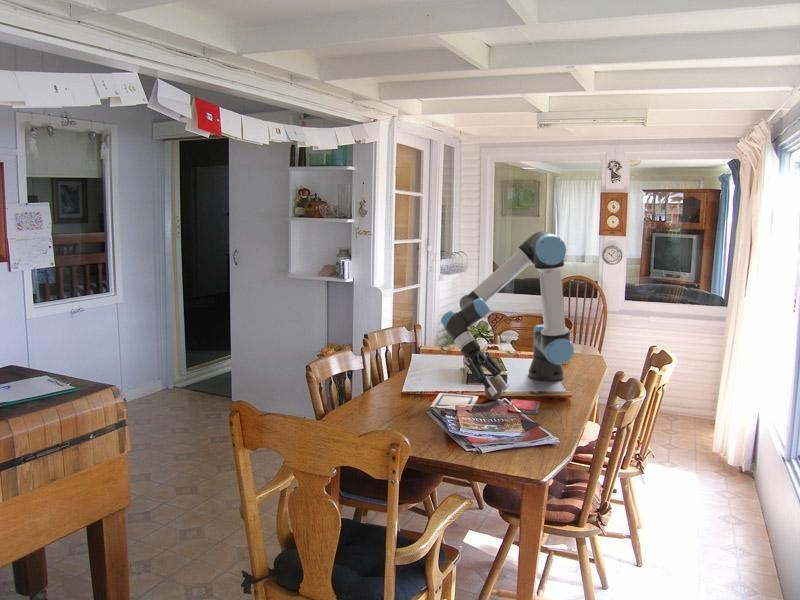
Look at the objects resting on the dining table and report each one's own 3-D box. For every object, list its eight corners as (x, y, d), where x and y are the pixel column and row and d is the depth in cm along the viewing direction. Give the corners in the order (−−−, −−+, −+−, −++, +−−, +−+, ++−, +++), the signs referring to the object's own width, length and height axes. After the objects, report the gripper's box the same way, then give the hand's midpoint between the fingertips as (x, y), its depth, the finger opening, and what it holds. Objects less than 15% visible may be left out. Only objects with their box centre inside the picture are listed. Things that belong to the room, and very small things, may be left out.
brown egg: (504, 400, 270) (504, 379, 268) (487, 401, 269) (487, 380, 267) (498, 394, 277) (499, 374, 275) (482, 396, 276) (482, 375, 274)
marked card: (478, 397, 276) (478, 395, 276) (471, 411, 261) (471, 409, 261) (439, 394, 280) (439, 392, 280) (430, 407, 265) (430, 405, 265)
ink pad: (539, 404, 268) (539, 401, 267) (537, 414, 257) (537, 410, 257) (511, 401, 271) (511, 398, 270) (507, 411, 260) (507, 408, 260)
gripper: (477, 345, 287) (509, 390, 279) (447, 355, 273) (480, 403, 265) (487, 334, 282) (520, 380, 275) (457, 344, 268) (491, 393, 261)
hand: (500, 391), depth 270 cm, fingers closed on brown egg, 7 cm apart
